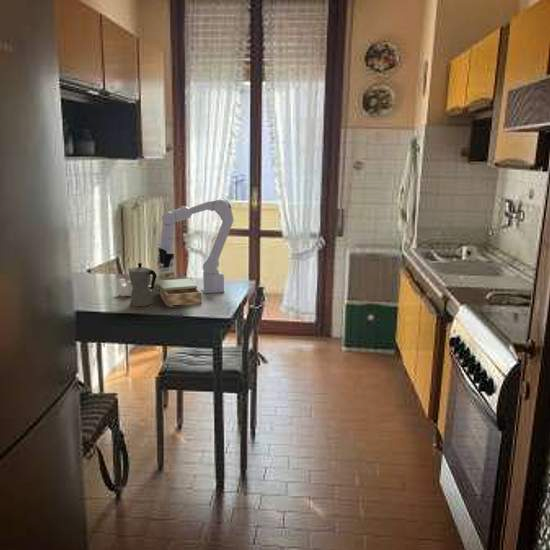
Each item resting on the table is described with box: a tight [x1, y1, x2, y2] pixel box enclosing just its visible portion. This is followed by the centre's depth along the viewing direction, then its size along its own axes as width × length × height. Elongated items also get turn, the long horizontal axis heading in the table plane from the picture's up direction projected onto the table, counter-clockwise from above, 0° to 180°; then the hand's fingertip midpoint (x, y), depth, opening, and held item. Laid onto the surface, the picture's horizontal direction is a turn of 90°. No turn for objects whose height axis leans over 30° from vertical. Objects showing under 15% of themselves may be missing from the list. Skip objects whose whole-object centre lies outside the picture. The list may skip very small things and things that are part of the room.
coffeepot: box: [127, 262, 158, 307], centre depth 232 cm, size 15×9×18 cm, turn 61°
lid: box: [156, 277, 198, 291], centre depth 247 cm, size 15×16×4 cm
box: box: [160, 287, 203, 307], centre depth 240 cm, size 15×15×5 cm
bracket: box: [118, 278, 153, 297], centre depth 251 cm, size 13×7×8 cm, turn 140°
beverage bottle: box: [156, 243, 176, 280], centre depth 271 cm, size 8×8×20 cm
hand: (164, 265), depth 258 cm, fingers open, 7 cm apart
